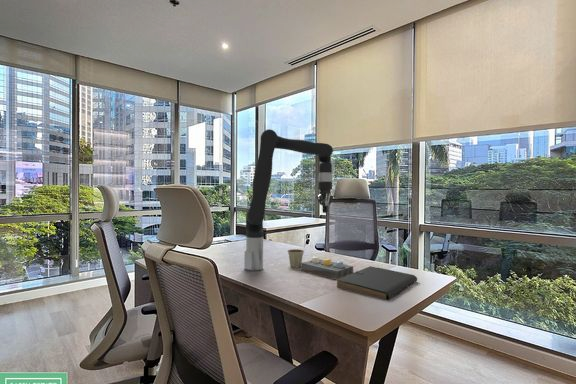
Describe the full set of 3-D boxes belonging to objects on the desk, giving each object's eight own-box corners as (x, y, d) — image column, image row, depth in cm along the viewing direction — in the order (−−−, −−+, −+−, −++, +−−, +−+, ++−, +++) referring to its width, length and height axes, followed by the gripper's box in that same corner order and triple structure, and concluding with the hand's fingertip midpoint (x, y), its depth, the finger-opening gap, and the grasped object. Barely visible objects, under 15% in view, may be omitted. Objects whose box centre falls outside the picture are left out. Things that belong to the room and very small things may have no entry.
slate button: (340, 273, 149) (340, 263, 149) (333, 271, 152) (333, 262, 152) (344, 272, 152) (344, 262, 152) (337, 270, 155) (338, 260, 155)
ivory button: (316, 268, 160) (316, 258, 160) (310, 266, 162) (310, 257, 162) (320, 266, 162) (320, 257, 162) (314, 265, 165) (314, 256, 165)
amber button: (327, 270, 154) (327, 260, 154) (321, 269, 157) (321, 259, 157) (332, 269, 157) (332, 259, 157) (326, 267, 160) (326, 258, 160)
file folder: (369, 265, 158) (417, 275, 142) (369, 273, 158) (417, 283, 142) (336, 278, 133) (389, 292, 117) (335, 288, 133) (388, 302, 118)
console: (337, 279, 144) (338, 271, 144) (301, 270, 160) (301, 263, 160) (353, 274, 155) (353, 266, 155) (317, 265, 170) (317, 258, 170)
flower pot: (284, 264, 172) (284, 249, 172) (299, 263, 176) (299, 248, 176) (291, 268, 163) (291, 253, 163) (306, 267, 167) (307, 251, 167)
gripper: (326, 181, 173) (326, 211, 173) (312, 180, 163) (312, 212, 163) (337, 181, 168) (337, 212, 168) (323, 180, 158) (323, 213, 158)
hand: (325, 212), depth 165 cm, fingers closed
